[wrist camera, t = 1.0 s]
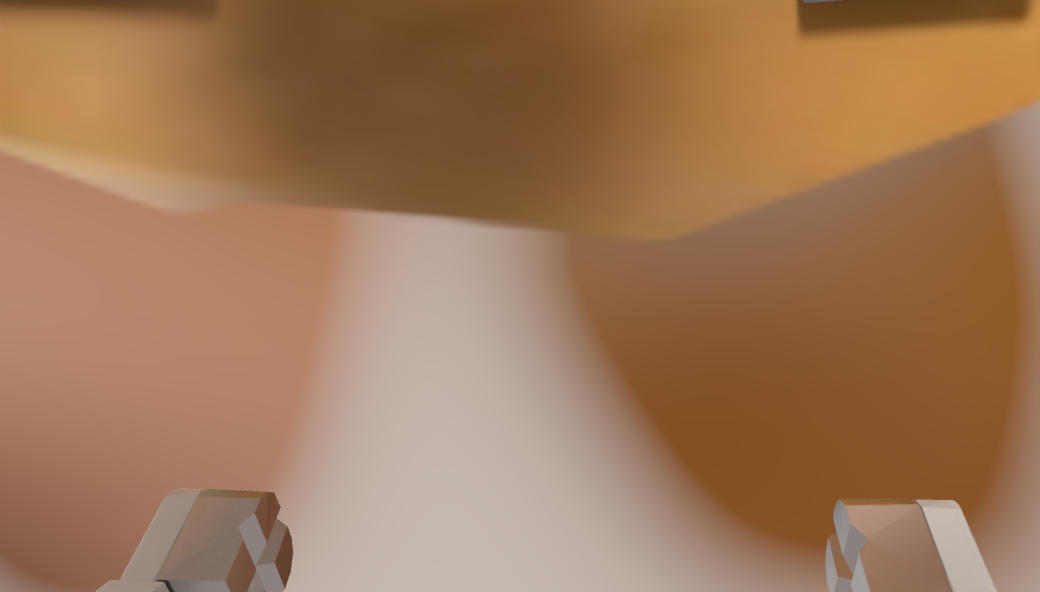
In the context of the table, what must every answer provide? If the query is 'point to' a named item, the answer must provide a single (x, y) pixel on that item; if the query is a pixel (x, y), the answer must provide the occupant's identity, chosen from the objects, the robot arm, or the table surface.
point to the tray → (810, 0)
